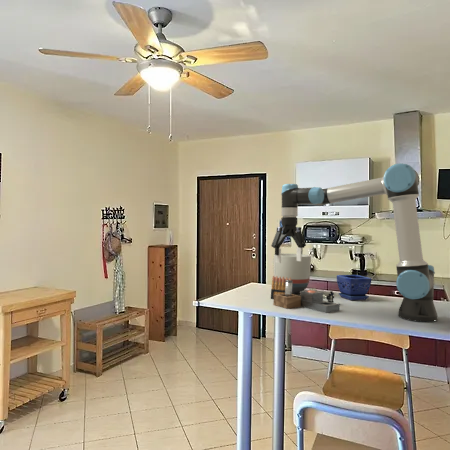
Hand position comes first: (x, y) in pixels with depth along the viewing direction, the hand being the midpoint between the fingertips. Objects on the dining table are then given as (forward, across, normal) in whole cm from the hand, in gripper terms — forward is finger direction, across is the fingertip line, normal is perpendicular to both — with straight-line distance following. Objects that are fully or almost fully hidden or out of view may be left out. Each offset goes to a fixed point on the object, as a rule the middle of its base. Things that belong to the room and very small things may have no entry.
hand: (288, 261), depth 191 cm
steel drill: (+21, 0, -1) cm, 21 cm away
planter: (+21, -26, -24) cm, 41 cm away
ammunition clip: (+21, -8, -13) cm, 26 cm away
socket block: (+21, -9, +10) cm, 25 cm away
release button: (+17, -9, +6) cm, 20 cm away
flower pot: (+22, -45, +3) cm, 50 cm away
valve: (+21, -20, +2) cm, 29 cm away
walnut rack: (+21, 0, -1) cm, 21 cm away
